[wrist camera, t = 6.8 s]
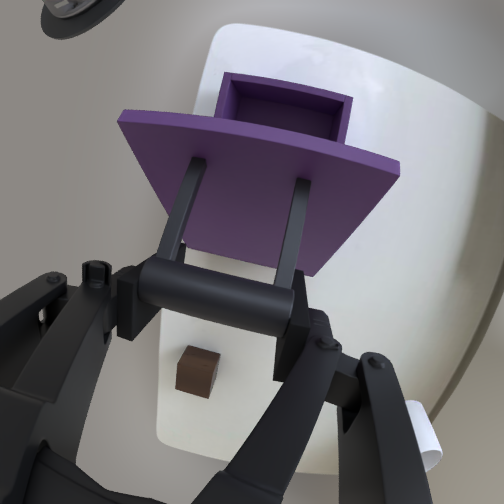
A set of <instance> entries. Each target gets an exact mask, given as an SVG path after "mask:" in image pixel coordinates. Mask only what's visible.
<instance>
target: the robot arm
mask: <svg viewBox="0 0 504 504" xmlns="http://www.w3.org/2000/svg"><path fill="white" fill-rule="evenodd" d="M100 1H101V0H43V2H44V3H45V5H46V6H47V8H48V9H49V10H50V12H51V13H52V14H53V15H54V16H56V17H58V18H60V19H64V20H67V19H72V18H76V17H78V16H80V15H82V14H84V13H86V12H87V11H89V10H90V9H92V8H93V7H94V6H96V5H97V4H98V3H99V2H100ZM186 245H187V244H185V243H180V246H179V249H178V253H177V256H176V259H175V261H176V262H180V263H184V259H185V252H186ZM152 256H156V253H155V254H154V255H152ZM147 260H148V259H146V260H145V261H143V262H142V263H140V264H139V265H137V266H132V265H131V266H128V267H124V268H122V269H121V270H119V271H118V272H116V273H114V274H113V275H111V271H112V266H111V265H110V264H109V263H107V262H104V261H97V260H93V261H87V262H85V263H83V264H82V281H83V282H82V283H81V285H80V286H79V287H76V286H70V285H67V277H66V275H64V274H62V273H58V272H50V273H45V274H43V275H41V276H39V277H38V278H36V279H34V280H32V281H31V282H29V283H27V284H26V285H24V286H22V287H21V288H19V289H17V290H15V291H14V292H12V293H11V294H9V295H7V296H6V297H4V298H3V299H1V300H0V504H166V503H163V502H160V501H157V500H154V499H152V498H144V497H139V496H133V495H128V494H123V493H118V492H114V491H109V490H107V489H105V488H103V487H102V486H101V485H99V484H98V483H97V482H95V481H94V480H93V479H92V478H90V477H89V476H88V475H87V474H86V473H85V472H83V471H82V470H81V469H80V468H79V467H78V466H76V456H77V451H78V447H79V443H80V439H81V435H82V431H83V428H84V424H85V420H86V417H87V413H88V410H89V406H90V403H91V399H92V396H93V393H94V389H95V386H96V383H97V380H98V377H99V374H100V371H101V368H102V365H103V362H104V359H105V356H106V353H107V350H108V348H109V345H110V342H111V339H112V332H111V331H112V329H113V328H114V327H115V326H116V325H117V336H118V337H121V338H124V339H127V340H129V341H133V340H134V338H135V337H136V336H137V335H138V334H139V333H140V332H141V331H142V329H143V328H144V327H145V326H146V325H147V324H148V323H149V322H150V321H151V319H152V318H153V317H154V316H155V315H156V313H158V312H159V310H160V309H161V308H162V307H158V306H155V305H152V304H149V303H145V302H143V301H141V300H140V298H139V295H138V282H139V277H140V274H141V271H142V268H143V266H144V264H145V262H146V261H147ZM291 289H293V290H294V303H293V308H292V313H291V317H290V321H289V325H288V328H287V331H286V333H285V335H284V337H283V338H278V337H277V342H276V352H275V363H274V373H273V381H278V382H284V383H283V384H282V386H281V388H280V389H279V391H278V392H277V394H276V396H275V397H274V399H273V400H272V402H271V403H270V405H269V407H268V408H267V410H266V411H265V413H264V414H263V416H262V417H261V419H260V420H259V422H258V423H257V425H256V426H255V428H254V429H253V431H252V432H251V433H250V435H249V436H248V438H247V439H246V441H245V442H244V444H243V445H242V446H241V448H240V449H239V451H238V452H237V453H236V455H235V456H234V458H233V459H232V460H231V462H230V463H229V464H228V466H227V467H226V468H225V469H224V470H223V471H219V472H217V473H216V474H215V476H214V477H213V478H212V479H211V480H210V481H209V483H208V484H207V485H206V486H205V488H204V489H203V490H202V491H201V492H200V494H199V495H198V496H197V497H196V498H195V500H194V501H193V502H192V503H191V504H281V502H282V500H283V495H284V492H285V490H286V488H287V486H288V484H289V482H290V480H291V478H292V476H293V474H294V472H295V470H296V468H297V465H298V463H299V461H300V459H301V457H302V454H303V452H304V450H305V448H306V445H307V443H308V441H309V438H310V436H311V434H312V431H313V429H314V426H315V424H316V421H317V419H318V416H319V414H320V411H321V409H322V406H323V403H324V401H326V402H329V403H331V404H334V405H337V422H338V451H339V504H433V502H432V498H431V494H430V489H429V484H428V481H427V476H426V472H425V468H424V464H423V460H422V456H421V453H420V449H419V446H418V442H417V438H416V435H415V432H414V428H413V425H412V422H411V418H410V415H409V412H408V409H407V406H406V403H405V400H404V397H403V394H402V391H401V388H400V385H399V382H398V379H397V376H396V373H395V371H394V368H393V365H392V363H391V362H390V360H389V359H387V358H386V357H385V356H384V355H382V354H379V353H374V352H366V353H364V354H362V355H361V358H360V360H358V359H355V358H353V357H350V356H348V355H345V354H344V353H342V346H341V344H340V343H339V342H338V341H337V340H335V339H334V338H333V335H332V331H331V328H330V323H329V318H328V316H327V315H326V314H325V313H324V311H322V310H317V309H312V308H308V301H307V294H306V286H305V279H304V271H302V270H298V269H295V272H294V277H293V282H292V286H291ZM41 309H42V310H43V317H44V319H43V320H42V321H40V320H39V312H40V311H41Z"/></svg>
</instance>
